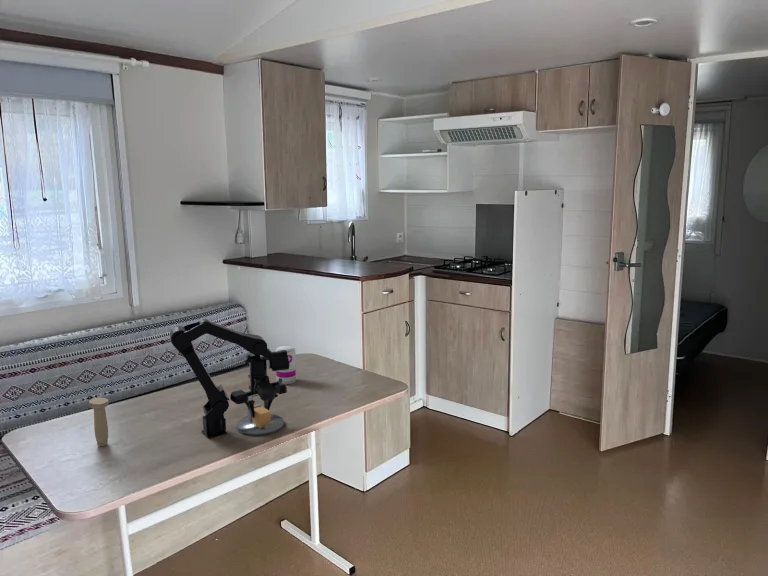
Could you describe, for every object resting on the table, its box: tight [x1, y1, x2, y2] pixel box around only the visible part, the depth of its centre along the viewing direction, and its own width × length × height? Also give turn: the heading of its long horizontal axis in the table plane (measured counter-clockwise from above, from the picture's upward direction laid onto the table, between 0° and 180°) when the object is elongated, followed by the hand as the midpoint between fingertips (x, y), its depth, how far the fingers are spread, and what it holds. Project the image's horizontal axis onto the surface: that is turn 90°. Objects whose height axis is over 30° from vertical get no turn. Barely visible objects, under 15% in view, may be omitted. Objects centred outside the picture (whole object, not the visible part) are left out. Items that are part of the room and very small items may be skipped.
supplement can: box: [275, 344, 297, 385], centre depth 248 cm, size 8×8×15 cm
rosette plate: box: [236, 413, 285, 437], centre depth 205 cm, size 16×16×3 cm
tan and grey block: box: [247, 403, 271, 428], centre depth 205 cm, size 4×9×5 cm, turn 38°
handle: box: [88, 397, 110, 447], centre depth 189 cm, size 5×6×15 cm
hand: (259, 415), depth 204 cm, fingers open, 5 cm apart
